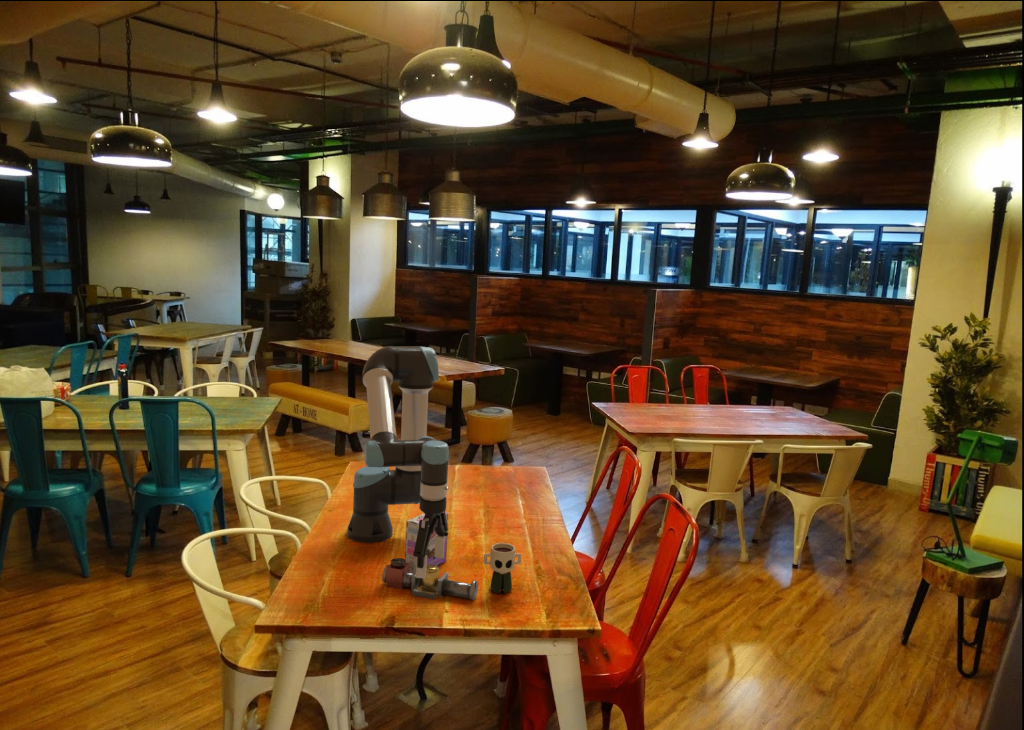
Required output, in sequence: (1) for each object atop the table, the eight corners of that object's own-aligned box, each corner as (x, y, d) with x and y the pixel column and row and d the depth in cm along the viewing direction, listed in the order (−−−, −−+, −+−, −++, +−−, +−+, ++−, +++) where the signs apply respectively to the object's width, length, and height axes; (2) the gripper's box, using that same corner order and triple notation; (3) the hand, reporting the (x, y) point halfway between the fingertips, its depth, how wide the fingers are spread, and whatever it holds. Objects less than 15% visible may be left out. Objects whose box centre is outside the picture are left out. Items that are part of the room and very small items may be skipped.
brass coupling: (418, 592, 199) (419, 569, 198) (425, 585, 204) (425, 562, 203) (434, 596, 198) (435, 572, 196) (441, 588, 202) (442, 565, 201)
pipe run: (379, 589, 200) (379, 565, 199) (392, 575, 208) (393, 553, 207) (469, 606, 193) (470, 581, 192) (479, 591, 201) (481, 568, 200)
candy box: (418, 577, 208) (420, 524, 206) (403, 571, 211) (405, 520, 209) (446, 561, 220) (449, 511, 217) (432, 556, 223) (434, 507, 221)
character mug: (483, 596, 199) (485, 552, 197) (481, 584, 206) (483, 542, 204) (521, 595, 201) (523, 552, 199) (517, 584, 207) (520, 542, 206)
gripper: (428, 513, 183) (425, 589, 187) (460, 484, 207) (457, 551, 211) (402, 509, 185) (399, 584, 189) (437, 480, 209) (434, 547, 213)
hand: (430, 567), depth 200 cm, fingers open, 13 cm apart
